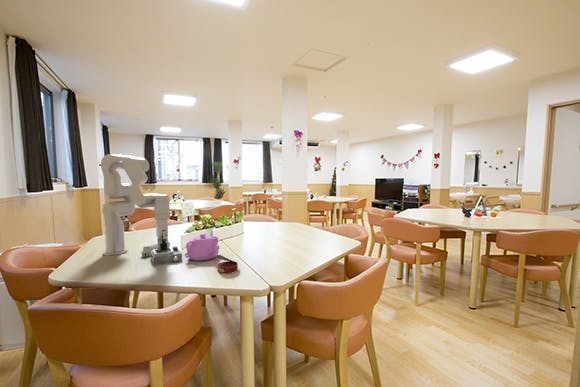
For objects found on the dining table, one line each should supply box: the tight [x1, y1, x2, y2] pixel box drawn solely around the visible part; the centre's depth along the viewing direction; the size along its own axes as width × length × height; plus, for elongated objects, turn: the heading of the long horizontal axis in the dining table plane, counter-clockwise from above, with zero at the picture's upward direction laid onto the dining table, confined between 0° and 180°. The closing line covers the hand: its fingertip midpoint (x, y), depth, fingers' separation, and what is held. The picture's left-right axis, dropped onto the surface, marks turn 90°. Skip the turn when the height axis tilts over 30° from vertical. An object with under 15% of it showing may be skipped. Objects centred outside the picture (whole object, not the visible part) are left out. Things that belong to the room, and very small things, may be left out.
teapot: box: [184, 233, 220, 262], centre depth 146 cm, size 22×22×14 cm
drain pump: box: [157, 236, 169, 252], centre depth 142 cm, size 5×5×8 cm
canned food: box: [216, 254, 239, 274], centre depth 127 cm, size 11×10×10 cm
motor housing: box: [150, 245, 183, 266], centre depth 143 cm, size 16×14×6 cm
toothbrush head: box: [140, 240, 171, 258], centre depth 160 cm, size 5×7×25 cm
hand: (162, 248), depth 143 cm, fingers closed on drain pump, 5 cm apart
